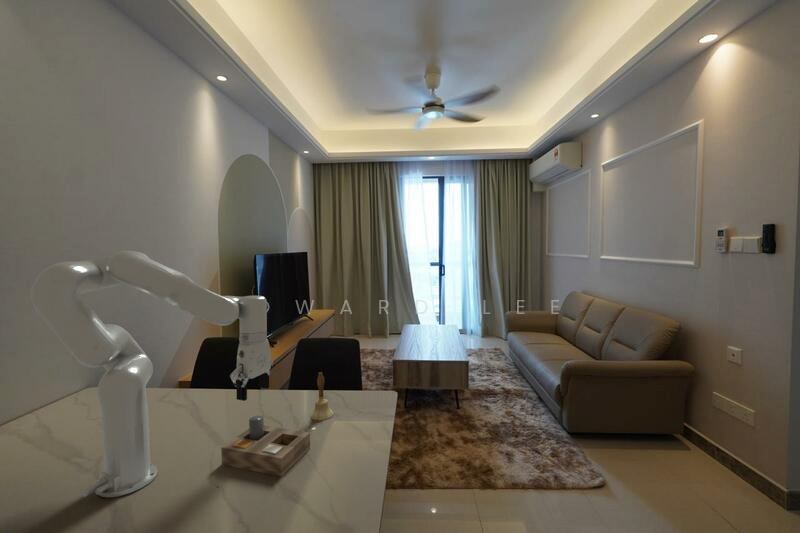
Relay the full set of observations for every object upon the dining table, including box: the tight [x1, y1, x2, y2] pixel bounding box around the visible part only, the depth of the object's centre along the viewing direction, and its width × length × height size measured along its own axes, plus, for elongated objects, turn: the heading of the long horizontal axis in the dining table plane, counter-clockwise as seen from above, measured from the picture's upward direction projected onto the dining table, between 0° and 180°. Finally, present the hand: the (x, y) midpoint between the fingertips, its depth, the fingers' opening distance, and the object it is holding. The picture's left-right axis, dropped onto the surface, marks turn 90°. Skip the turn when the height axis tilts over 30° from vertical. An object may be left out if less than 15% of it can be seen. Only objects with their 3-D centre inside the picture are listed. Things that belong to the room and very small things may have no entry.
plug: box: [248, 415, 265, 441], centre depth 105 cm, size 4×4×9 cm
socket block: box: [220, 425, 311, 477], centre depth 103 cm, size 20×14×5 cm
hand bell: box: [310, 371, 334, 421], centre depth 129 cm, size 8×8×16 cm
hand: (253, 393), depth 105 cm, fingers open, 9 cm apart
